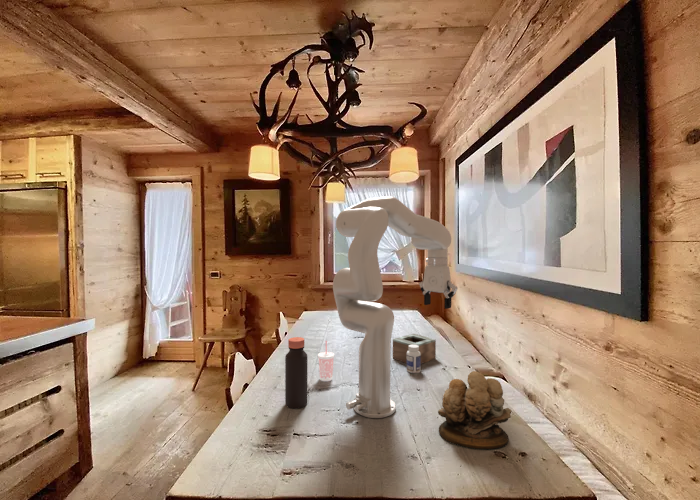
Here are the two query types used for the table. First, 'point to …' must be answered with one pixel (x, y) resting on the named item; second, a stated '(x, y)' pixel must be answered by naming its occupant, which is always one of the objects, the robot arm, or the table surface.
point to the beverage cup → (326, 365)
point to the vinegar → (296, 374)
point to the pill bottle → (413, 359)
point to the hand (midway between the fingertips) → (437, 306)
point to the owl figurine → (474, 413)
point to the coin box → (425, 344)
